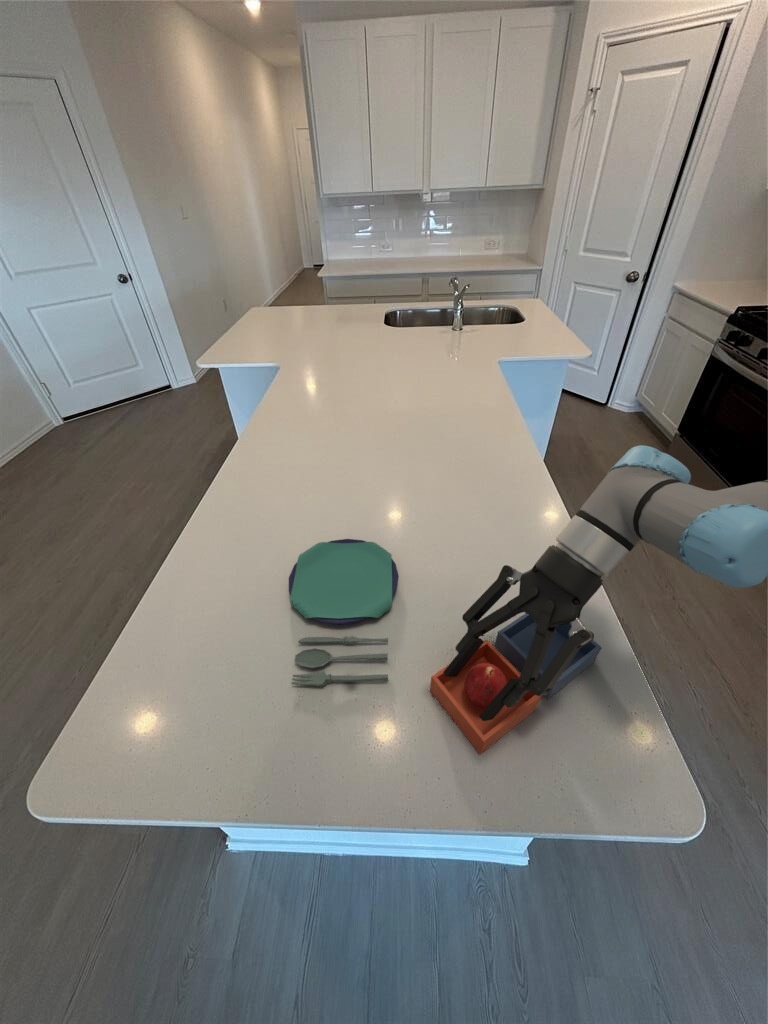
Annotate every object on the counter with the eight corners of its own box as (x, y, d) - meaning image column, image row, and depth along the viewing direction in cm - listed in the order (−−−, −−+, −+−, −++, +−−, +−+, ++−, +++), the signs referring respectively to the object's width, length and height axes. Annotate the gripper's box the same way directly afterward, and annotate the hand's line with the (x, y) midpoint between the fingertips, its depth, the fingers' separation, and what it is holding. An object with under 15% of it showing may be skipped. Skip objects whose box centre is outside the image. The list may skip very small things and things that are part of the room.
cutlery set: (397, 544, 88) (397, 536, 86) (401, 687, 65) (401, 679, 64) (298, 546, 88) (296, 537, 87) (268, 688, 65) (265, 681, 64)
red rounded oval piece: (500, 724, 60) (509, 696, 55) (458, 711, 62) (463, 683, 57) (505, 685, 64) (514, 656, 59) (466, 674, 66) (472, 645, 61)
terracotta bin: (536, 709, 62) (542, 695, 60) (480, 754, 58) (483, 741, 55) (483, 653, 69) (486, 639, 66) (429, 690, 65) (431, 676, 62)
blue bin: (594, 662, 68) (602, 647, 65) (547, 700, 63) (553, 686, 61) (540, 614, 74) (545, 599, 72) (494, 646, 70) (497, 631, 67)
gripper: (657, 616, 51) (532, 755, 55) (529, 524, 64) (435, 643, 68) (647, 610, 46) (509, 765, 50) (509, 510, 58) (408, 641, 62)
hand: (467, 695), depth 59 cm, fingers open, 6 cm apart
